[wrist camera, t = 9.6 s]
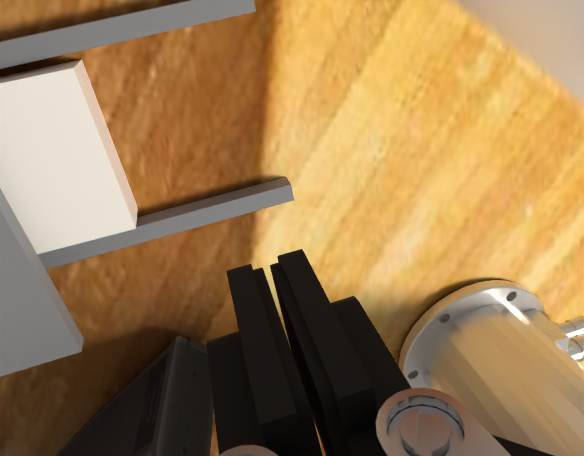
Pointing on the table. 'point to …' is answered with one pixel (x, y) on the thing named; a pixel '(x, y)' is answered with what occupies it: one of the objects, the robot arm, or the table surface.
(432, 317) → the robot arm
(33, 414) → the table surface
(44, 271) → the dock
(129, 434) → the magazine
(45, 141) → the white rounded slab
